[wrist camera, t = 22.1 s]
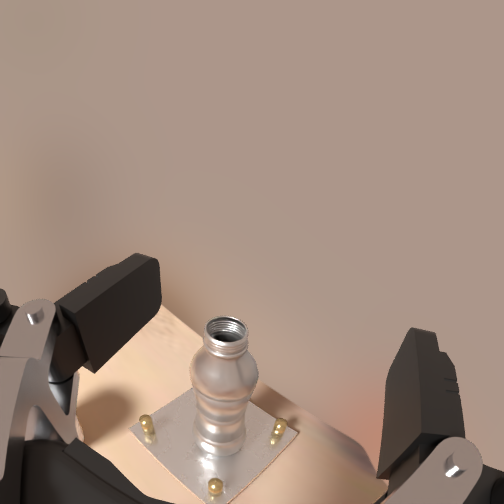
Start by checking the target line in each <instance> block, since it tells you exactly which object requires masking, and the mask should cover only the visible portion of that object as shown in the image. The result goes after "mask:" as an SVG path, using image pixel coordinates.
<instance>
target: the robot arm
mask: <svg viewBox="0 0 504 504" xmlns="http://www.w3.org/2000/svg"><path fill="white" fill-rule="evenodd" d="M161 301H162V295H161V282H160V267H159V262H158V260H157V259H155V258H152V257H149V256H146V255H143V254H139V253H135V254H133V255H131V256H130V257H128V258H127V259H125V260H123V261H122V262H120V263H119V264H116V265H113V266H110V267H107V268H106V269H104V270H102V271H101V272H99V273H98V274H97V275H96V276H94V277H92V278H90V279H89V280H87V283H86V282H84V283H83V284H81V285H80V286H78V287H77V288H75V289H74V290H73V291H71V292H70V293H68V294H67V295H65V296H64V297H62V298H61V299H59V300H58V301H56V302H55V303H52V302H51V301H49V300H46V299H36V300H32V301H29V302H27V303H25V304H23V305H22V306H21V307H18V306H14V305H10V303H9V301H8V298H7V295H6V292H5V291H4V290H3V289H0V504H174V503H170V502H166V501H162V500H158V499H154V498H151V497H148V496H146V495H144V494H143V493H142V492H141V491H140V490H138V489H137V488H136V487H135V486H134V485H133V484H132V483H131V482H130V481H129V480H128V479H127V478H126V477H125V476H124V475H123V474H122V473H121V472H120V471H119V470H118V469H117V468H116V467H115V466H114V465H113V464H112V463H111V462H110V461H109V460H108V459H106V458H105V457H103V456H102V455H100V454H99V453H97V452H96V451H94V450H93V449H91V448H90V447H89V446H87V445H86V444H85V443H83V442H82V441H80V440H79V437H78V433H77V430H76V425H75V418H76V405H77V395H78V386H79V372H78V369H79V368H80V367H82V366H83V367H85V368H86V369H88V370H90V371H91V372H93V373H94V374H95V373H96V372H97V371H98V370H99V369H100V368H101V367H102V366H103V365H104V364H105V363H106V362H107V361H108V360H109V359H110V358H111V357H112V356H113V355H114V354H115V353H116V352H117V351H119V350H120V349H121V348H122V347H123V346H124V345H125V344H126V343H127V342H128V341H129V340H130V339H131V338H132V337H133V336H134V335H135V334H136V333H137V332H138V331H139V330H140V329H141V328H143V327H144V326H145V325H146V324H147V323H148V322H149V321H150V320H151V319H152V318H153V317H154V316H155V315H156V314H157V312H158V311H159V309H160V306H161ZM456 382H457V377H456V372H455V367H454V365H453V363H452V362H451V360H450V358H449V357H448V355H447V354H446V353H445V352H440V351H439V347H438V342H437V337H436V334H435V333H434V332H430V331H426V330H421V329H417V328H410V330H409V331H408V332H407V334H406V337H405V339H404V341H403V343H402V345H401V347H400V349H399V351H398V353H397V355H396V357H395V359H394V361H393V363H392V365H391V367H390V369H389V373H388V376H387V380H386V388H385V389H386V390H385V406H384V419H383V430H382V440H381V449H380V457H379V465H378V471H377V477H376V478H378V479H386V480H389V486H388V490H387V491H386V492H384V493H383V494H382V495H381V496H380V497H379V498H378V499H377V500H375V501H374V502H373V503H372V504H504V472H502V471H500V470H497V469H494V468H491V467H488V466H486V465H484V464H483V462H482V457H481V454H480V452H479V450H478V449H477V448H476V446H475V445H474V444H473V443H472V442H470V441H469V440H467V439H465V430H464V421H463V413H462V407H461V399H460V395H458V393H459V387H458V383H456Z"/></svg>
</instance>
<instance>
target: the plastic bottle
mask: <svg viewBox="0 0 504 504" xmlns="http://www.w3.org/2000/svg"><path fill="white" fill-rule="evenodd" d="M247 349H248V328H247V326H246V325H245V324H244V323H243V322H242V321H241V320H239V319H237V318H235V317H231V316H217V317H214V318H211V319H210V320H208V321H207V323H206V324H205V328H204V337H203V346H202V347H201V348H200V349H199V350H198V351H197V352H196V354H195V355H194V357H193V359H192V361H191V364H190V378H191V382H192V386H193V389H194V393H195V398H196V407H197V409H196V417H195V419H194V423H193V428H192V434H193V437H194V440H195V442H196V444H197V445H198V447H199V448H200V449H201V450H202V451H204V452H205V453H207V454H209V455H212V456H217V457H225V456H230V455H232V454H234V453H236V452H237V451H238V450H239V449H240V448H241V447H242V445H243V444H244V442H245V440H246V425H245V412H246V408H247V405H248V402H249V400H250V398H251V395H252V393H253V391H254V389H255V387H256V383H257V380H258V369H257V365H256V361H255V359H254V358H253V356H252V355H251V354H250V353H249V352H248V350H247Z"/></svg>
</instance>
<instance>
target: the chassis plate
mask: <svg viewBox="0 0 504 504" xmlns="http://www.w3.org/2000/svg"><path fill="white" fill-rule="evenodd" d="M196 409H197V407H196V398H195V393H194V389H193V388H191V389H190V390H188V391H187V392H185V393H184V394H182V395H181V396H179V397H178V398H176V399H175V400H173V401H171V402H170V403H168V404H167V405H165V406H164V407H162V408H161V409H159V410H157V411H156V412H154V413H153V414H151V415H150V416H149V415H142V416H141V417H140V419H139V421H140V422H138V423H137V424H135V425H133V426H132V427H130V428H129V431H130V433H131V434H132V435H133V436H134V437H135V438H136V440H137V441H138V442H139V443H140V444H141V445H142V446H143V447H144V448H145V449H146V450H147V451H148V452H149V454H150V455H151V456H152V457H153V458H154V459H155V460H156V461H157V462H158V463H159V464H160V465H161V466H162V467H163V468H164V469H165V470H166V471H167V472H168V473H170V474H171V475H172V476H173V477H174V478H175V479H176V480H177V481H178V482H179V483H180V484H181V485H182V486H184V487H185V488H186V489H187V490H188V491H189V492H190V493H192V494H193V495H194V496H195V497H196V498H197V499H199V500H200V501H201V502H202V503H203V504H228V503H229V502H231V501H232V500H233V499H234V498H235V497H236V496H237V495H238V494H239V493H241V492H242V491H243V490H244V489H245V488H246V487H247V486H248V485H249V484H250V483H251V482H252V481H253V480H254V479H255V478H256V477H258V476H259V475H260V474H261V473H262V472H263V471H264V470H265V469H266V468H267V467H268V466H269V465H270V464H271V463H272V462H273V461H274V459H275V458H276V457H277V456H278V455H279V454H280V453H281V452H282V451H283V450H284V449H285V448H286V447H287V446H288V445H289V444H290V442H291V441H292V440H293V439H294V438H295V437H296V435H297V433H298V432H296V431H294V430H293V429H291V428H290V427H288V426H287V421H286V420H285V419H283V418H279V419H275V418H274V417H272V416H271V415H269V414H268V413H266V412H265V411H263V410H262V409H260V408H259V407H257V406H256V405H255V404H253V403H252V402H250V401H249V402H248V405H247V408H246V412H245V425H246V440H245V442H244V444H243V445H242V447H241V448H240V449H239V450H238V451H237V452H236V453H234V454H232V455H230V456H225V457H217V456H212V455H209V454H207V453H205V452H204V451H202V450H201V449H200V448H199V447H198V445H197V444H196V442H195V440H194V437H193V434H192V428H193V423H194V419H195V417H196Z"/></svg>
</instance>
